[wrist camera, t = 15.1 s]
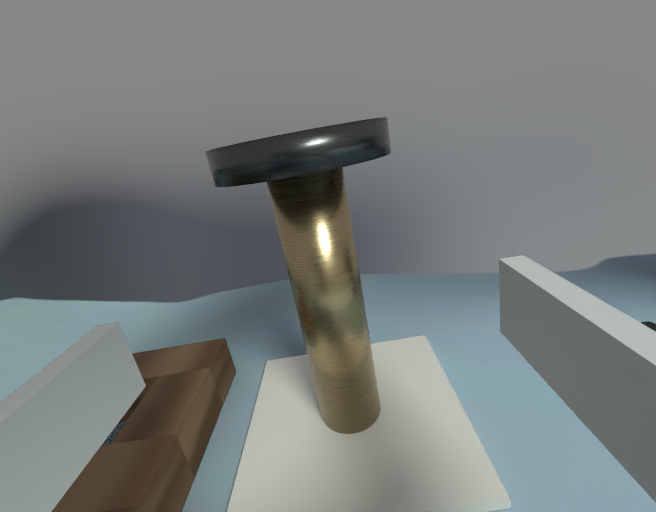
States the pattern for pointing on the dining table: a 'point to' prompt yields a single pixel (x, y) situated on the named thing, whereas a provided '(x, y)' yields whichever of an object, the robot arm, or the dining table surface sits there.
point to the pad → (366, 444)
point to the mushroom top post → (319, 252)
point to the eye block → (158, 434)
